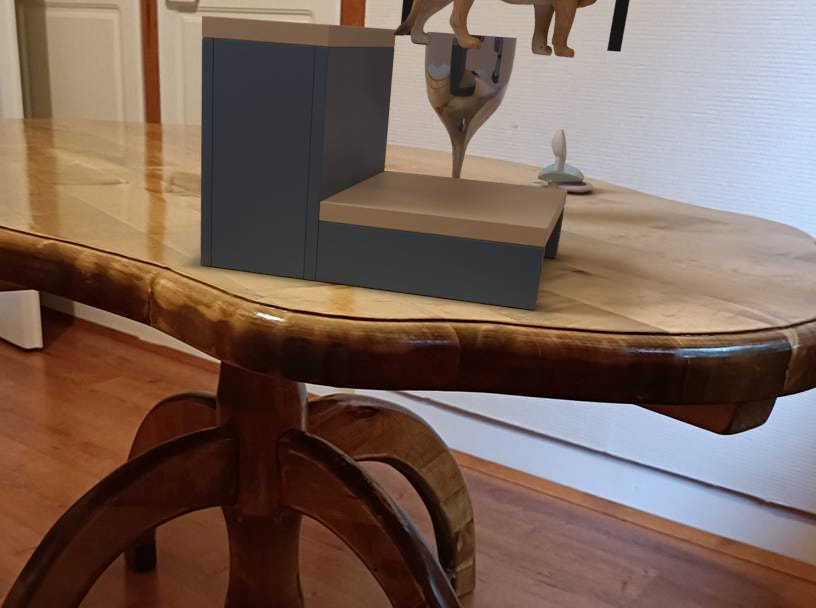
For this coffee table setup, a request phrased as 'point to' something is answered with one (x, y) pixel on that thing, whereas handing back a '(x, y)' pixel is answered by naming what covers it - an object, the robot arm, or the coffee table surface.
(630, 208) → the coffee table surface
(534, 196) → the two-step block
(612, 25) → the robot arm
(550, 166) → the pacifier
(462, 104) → the wine glass
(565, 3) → the lion figurine
